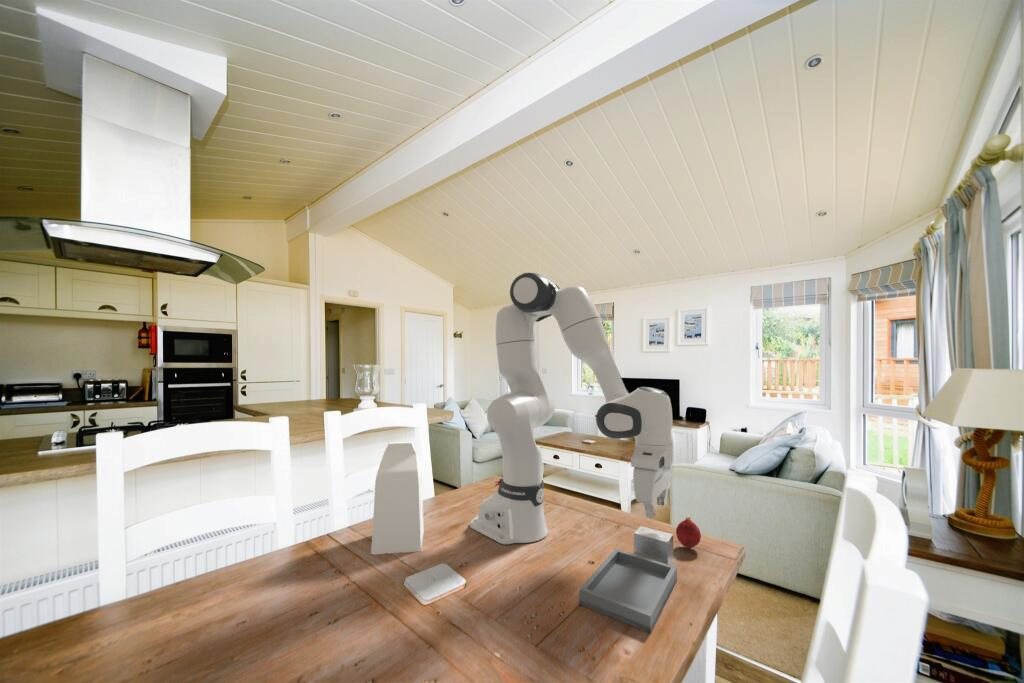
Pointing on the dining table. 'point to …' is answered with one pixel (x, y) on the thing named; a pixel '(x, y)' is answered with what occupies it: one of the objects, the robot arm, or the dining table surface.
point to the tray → (629, 589)
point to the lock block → (653, 544)
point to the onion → (688, 533)
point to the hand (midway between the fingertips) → (656, 510)
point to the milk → (398, 501)
